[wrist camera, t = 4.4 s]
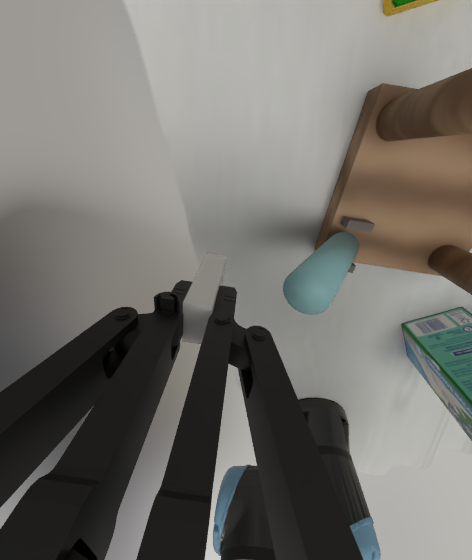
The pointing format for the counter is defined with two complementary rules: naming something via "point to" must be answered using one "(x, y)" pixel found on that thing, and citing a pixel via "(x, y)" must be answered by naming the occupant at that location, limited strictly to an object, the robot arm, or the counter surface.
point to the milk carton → (445, 359)
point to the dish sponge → (402, 5)
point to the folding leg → (321, 274)
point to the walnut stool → (410, 181)
